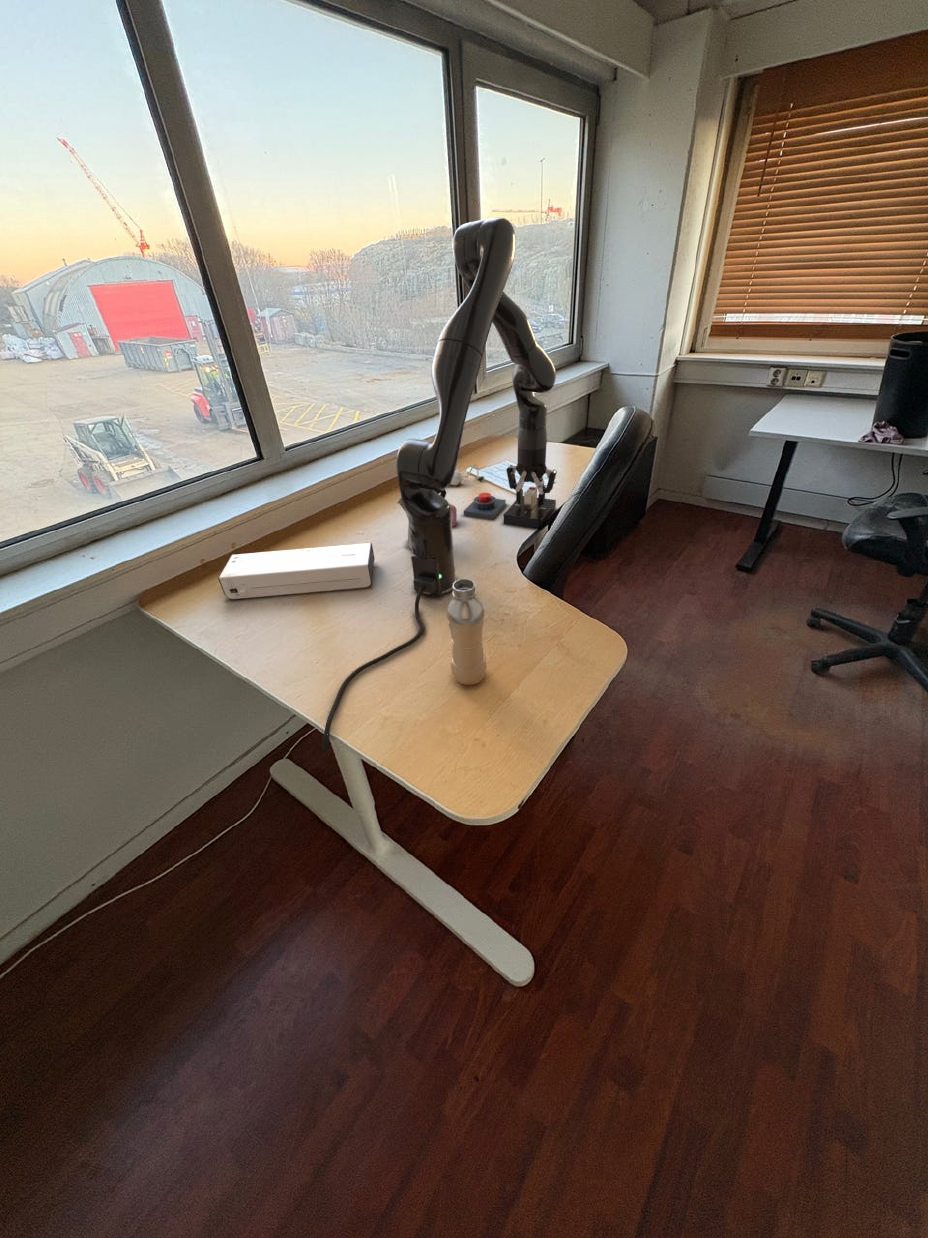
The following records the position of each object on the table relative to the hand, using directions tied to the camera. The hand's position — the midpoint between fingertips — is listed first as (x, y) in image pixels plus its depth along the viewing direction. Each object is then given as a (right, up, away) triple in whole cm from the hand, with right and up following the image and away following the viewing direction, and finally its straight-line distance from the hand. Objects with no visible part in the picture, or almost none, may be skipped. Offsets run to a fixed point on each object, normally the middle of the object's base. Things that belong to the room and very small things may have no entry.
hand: (530, 504), depth 143 cm
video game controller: (-26, -5, +2) cm, 26 cm away
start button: (-13, +2, +6) cm, 14 cm away
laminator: (-58, -24, -21) cm, 66 cm away
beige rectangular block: (0, -1, 0) cm, 1 cm away
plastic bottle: (-18, -43, -51) cm, 69 cm away
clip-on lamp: (-21, +14, +28) cm, 37 cm away
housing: (-13, 0, +7) cm, 15 cm away
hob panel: (0, -3, +2) cm, 4 cm away
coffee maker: (-29, -12, -7) cm, 32 cm away
